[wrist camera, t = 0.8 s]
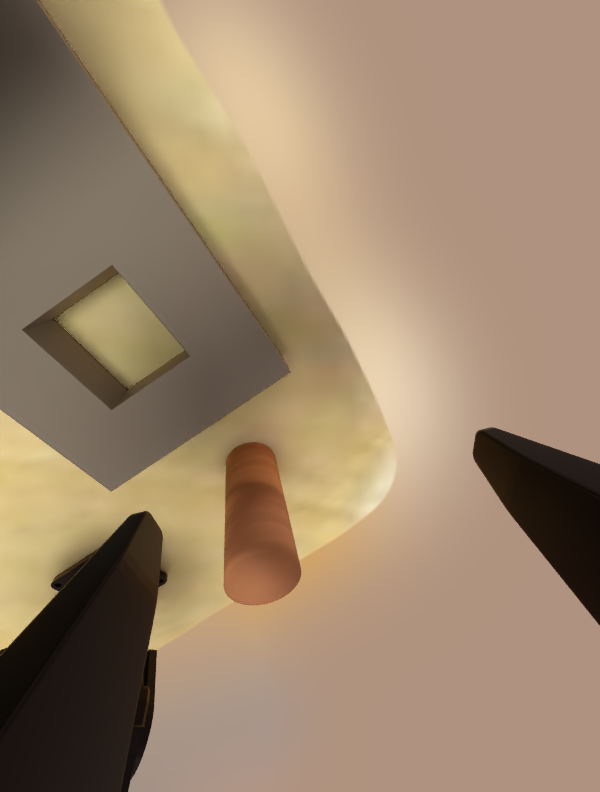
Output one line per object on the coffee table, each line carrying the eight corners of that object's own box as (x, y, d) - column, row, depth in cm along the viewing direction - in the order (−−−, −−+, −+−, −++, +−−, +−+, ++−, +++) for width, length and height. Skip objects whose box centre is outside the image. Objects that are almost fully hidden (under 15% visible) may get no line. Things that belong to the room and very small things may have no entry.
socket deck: (125, 463, 22) (111, 491, 20) (-293, 123, 12) (-438, 85, 10) (283, 357, 21) (290, 371, 19) (-27, -96, 11) (-104, -203, 9)
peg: (245, 491, 26) (254, 615, 17) (215, 461, 24) (206, 582, 15) (284, 465, 25) (314, 577, 16) (257, 433, 24) (274, 539, 15)
